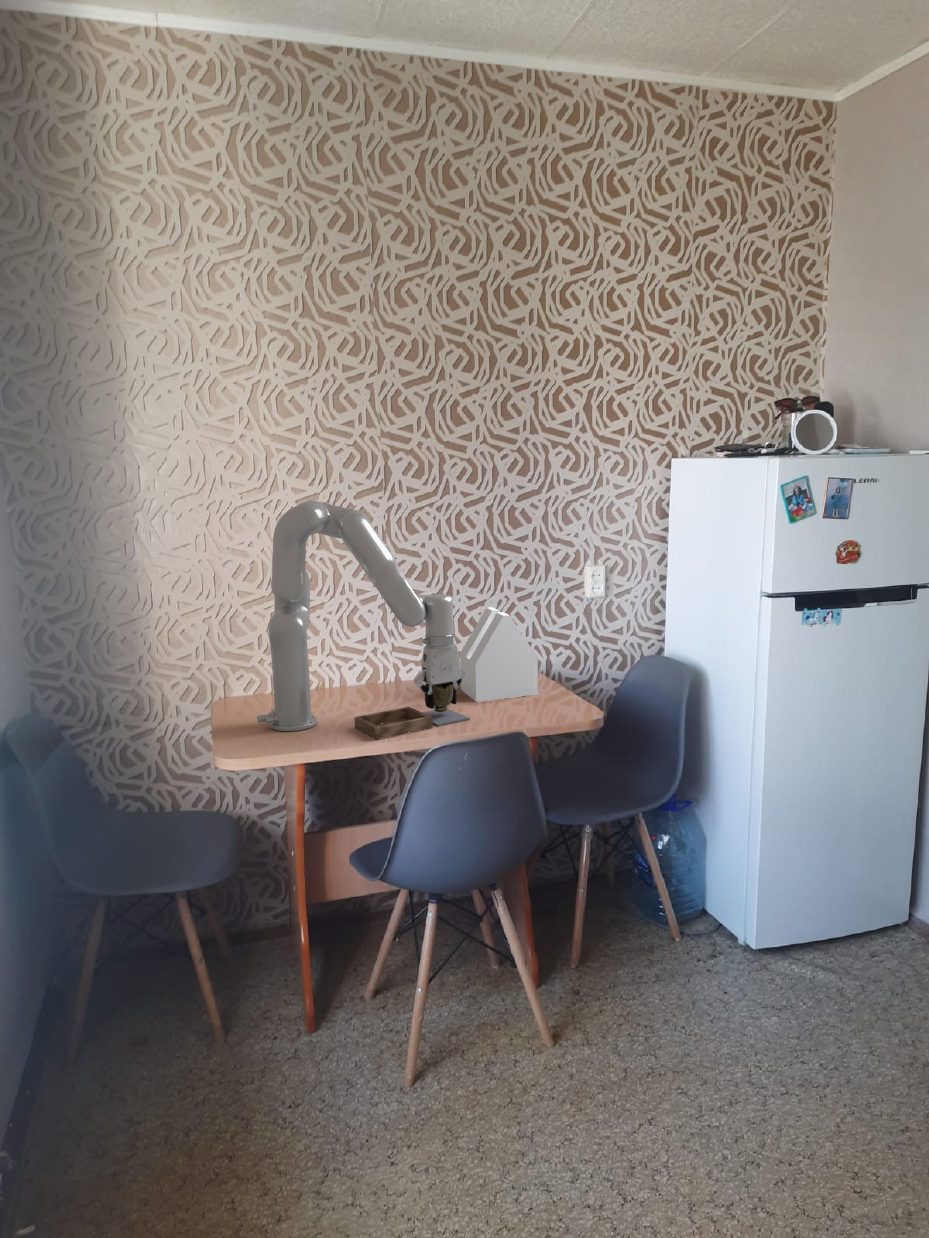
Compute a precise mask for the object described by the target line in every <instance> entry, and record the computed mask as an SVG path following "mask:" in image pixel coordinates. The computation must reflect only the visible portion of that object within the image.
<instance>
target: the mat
mask: <svg viewBox="0 0 929 1238" xmlns="http://www.w3.org/2000/svg"><path fill="white" fill-rule="evenodd" d="M421 712H422V711H421ZM422 713H424V714H427V715H429V716H431V717H432V718H433V725H434V726H436V727H438V728H440V727H442V726H447V725H453V724H456V723H461V722H466V721H470V717H468V716H466V715H464V714H461V713H459V712H456V711H454V710H451V709H449V708H447V710H446V711H445V712H436V711H435V710H434V709H432V710H428V711H423V712H422Z"/></svg>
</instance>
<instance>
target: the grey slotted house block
mask: <svg viewBox="0 0 929 1238" xmlns="http://www.w3.org/2000/svg"><path fill="white" fill-rule="evenodd" d="M459 660H460V669H462V670H463V671H464V672H465V673H466V675H465V677H464V678H463V680H462V682H461V683H460V690H461V691H462V692H463V693H464V694H466V695H467V696H469V697H470V698H471V699H472V700H473V701H474V702H475V703H481V702H482V703H483V702H491V701H500V700H499V699H502V700H505V699H504V698H511V699H516V698H515V697H521V696H526V695H538V696H539V674H538V673H539V663H538V661H539V657H538V656H537V655H536V654H535V652H534V650H533V649H532V646H531V645H530V644H529V643H528V641H527V640H526V638H525V636H524V635H523V634H522V631H521V630H520V629H519V627H518V625H517V623H516V622H515V621H514V619H513V618H512V616H511V615H510V614H508V613H506V612H503V611H502V612H500V610H499V609H497V608H495V607H492V606H491V607H486V608H485V609H484V611H483V612H482V615H481V616H480V617H479V619H478V621H477V623H476V625H475V627H474V628H473V630H472V632H471V634H470V635H469V637H468V639H467V640H466V642H465V644H464V646H463V648H462V649H461V651H460V652H459ZM521 698H522V697H521Z"/></svg>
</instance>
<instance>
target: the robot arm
mask: <svg viewBox="0 0 929 1238" xmlns="http://www.w3.org/2000/svg"><path fill="white" fill-rule="evenodd" d="M316 534H319V535H323V536H327V537H332V538H336V539H342V541H343V543H344V545H345V546H346V547H347V548H348V550H349V551H350V553H351V554H352V555H353V557H354V559H356V561H357V562H358V564H359V566H360V567H361V569H362V570H363V571H364V573H365V575H367V577H368V579H369V581H370V582H371V583H372V585H373V586H374V587H375V588H376V590H377V591H378V593H379V595H380V596H381V597H382V599H383V601H384V602H385V603H386V605H387V606H388V608H389V609H390V611H391V612H392V613H393V615H394V616H395V617H396V619H397V621H398V622H399V623H400V624H401V625H403V626H404V627H408V628H415V627H417V626H419V625H421V624H422V622H423V621H424V622H425V625H424V626H425V635H424V638H422V640H421V642H422V644H423V645H424V644H425V645H424V646H423V651H422V657H421V672H420V674H419V675H418V676H417V677H416V679H415V680H414V684H415V685H416V686H417V687H418V688H419V689H420V690H421V691H422V692H423V694H424V703H425V706H426V708H429V709H432V710H434V696H433V694H432V688H433V687H434V685H438V684H444V683H449V682H451V683H452V684H453V682H454V686H453V696H452V700H451V702H450V704H452V705H456V704H457V698H458V697H457V696H458V695H457V690H458V689H459V686H461V682H462V680H463V678H464V677H465V675H466V673H465V672H464V671H463V670H462V669H460V652H459V650H458V646H457V644H456V643H455V639H454V638H455V636H454V634H455V633H454V632H455V631H454V599H453V597H452V596H451V595H449V594H444V593H443V594H442V593H441V594H440V593H438V594H429V595H427V594H418V593H417V594H416V592H414V590H413V589H412V587H411V586H410V584H409V582H408V581H407V580H406V578H405V576H404V575H403V573H402V571H401V569H400V567H399V564H398V562H397V560H396V559H395V557H394V555H393V553H392V552H391V551H390V549H389V547H388V546H387V545H386V544H385V542H384V541H383V539H382V538H381V536H380V535H379V534H378V532H377V531H376V529H375V527H374V526H373V524H372V523H371V521H370V519H369V517H368V516H367V514H365V512H363V511H360V510H357V509H352V508H347V507H343V506H339V505H335V504H330V503H326V502H322V501H319V500H307V501H304V502H301V503H299V504H298V505H297V504H296V505H295V506H293V507H292V508H290V509H289V510H287V511H286V512H285V513H283V515H281V517H280V519H278V521H277V522H276V524H275V528H274V531H273V536H272V537H273V539H272V557H271V561H272V562H271V580H270V582H271V583H270V587H271V592H272V594H273V596H274V613H273V615H272V616H271V618H270V621H269V625H268V641H269V647H270V654H271V659H270V660H271V670H272V686H273V703H274V708H271V709H270V710H271V711H270V712H268V713H267V714H260V715H257V716H256V719H257V720H256V721H257V723H259V724H260V723H266V724H269V727H270V728H271V729H272V730H275V731H279V732H297V731H303V730H307V729H310V728H313V727H315V726H316V725H317V724H318V717H316V716H315V715H313V714H312V705H311V704H312V703H311V701H312V699H311V684H310V681H311V680H310V666H309V664H310V663H309V651H308V640H307V639H308V637H307V635H308V634H307V631H308V629H309V625H310V618H311V617H310V616H311V613H310V611H311V609H310V608H311V607H310V606H311V605H310V604H311V599H310V598H311V580H310V579H311V578H310V576H309V573H308V571H307V570H306V558H307V549H306V548H307V542H308V539H309V538H310V537H311V536H313V535H316ZM427 685H428V686H429V688H427Z"/></svg>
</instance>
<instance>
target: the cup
mask: <svg viewBox="0 0 929 1238" xmlns="http://www.w3.org/2000/svg"><path fill="white" fill-rule="evenodd" d="M453 686H454V682H453V684H452V683H451V682H449V683H444V684H438V685H434V687H433V688H432V694H433V696H434V708H433V710H435V711H436V712H445V711H446V710H447V709H448V706H449V705H450V704H451V703H450V702H451V700H452V696H453ZM427 688H429V686H428V685H427Z"/></svg>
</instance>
